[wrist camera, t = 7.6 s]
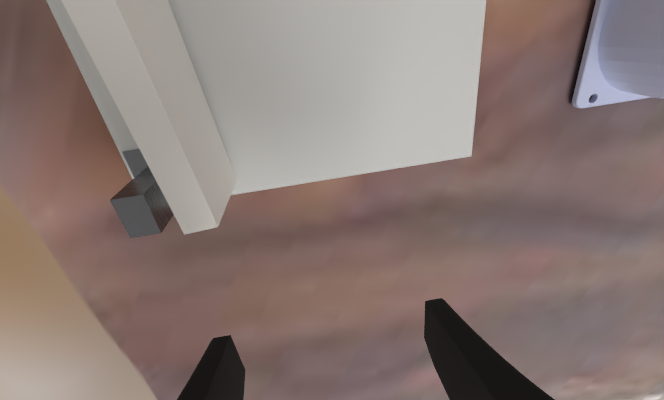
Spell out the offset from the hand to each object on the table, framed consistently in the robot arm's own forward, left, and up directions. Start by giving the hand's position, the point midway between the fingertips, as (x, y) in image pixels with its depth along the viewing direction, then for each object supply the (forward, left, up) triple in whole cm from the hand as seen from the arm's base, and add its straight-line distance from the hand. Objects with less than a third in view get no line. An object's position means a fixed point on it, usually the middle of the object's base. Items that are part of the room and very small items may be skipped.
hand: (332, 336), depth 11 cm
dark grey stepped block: (+8, -4, -10) cm, 13 cm away
